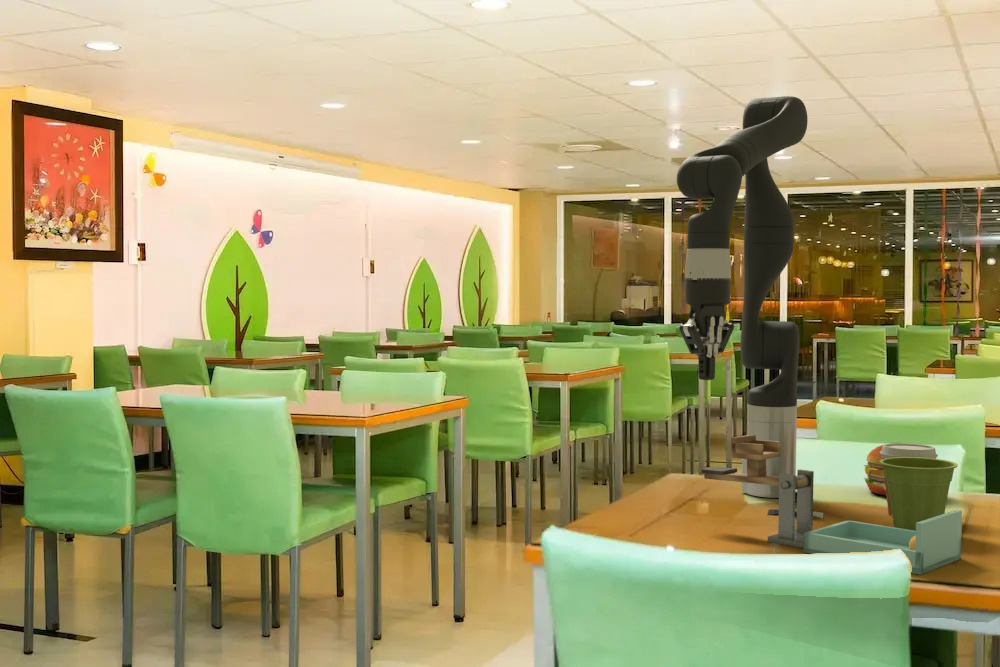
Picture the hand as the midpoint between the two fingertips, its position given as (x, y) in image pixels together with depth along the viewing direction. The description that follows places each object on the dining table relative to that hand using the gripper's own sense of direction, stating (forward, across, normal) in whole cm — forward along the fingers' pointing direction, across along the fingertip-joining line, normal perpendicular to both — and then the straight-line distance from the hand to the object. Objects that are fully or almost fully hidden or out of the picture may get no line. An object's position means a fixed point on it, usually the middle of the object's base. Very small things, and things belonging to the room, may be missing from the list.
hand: (706, 379), depth 184 cm
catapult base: (+24, +2, +19) cm, 30 cm away
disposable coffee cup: (+24, -31, +21) cm, 44 cm away
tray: (+24, +2, +33) cm, 40 cm away
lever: (+16, +2, +11) cm, 20 cm away
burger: (+25, -49, +11) cm, 56 cm away
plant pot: (+24, -19, +28) cm, 42 cm away
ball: (+21, +2, +38) cm, 44 cm away
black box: (+25, -17, +7) cm, 31 cm away
